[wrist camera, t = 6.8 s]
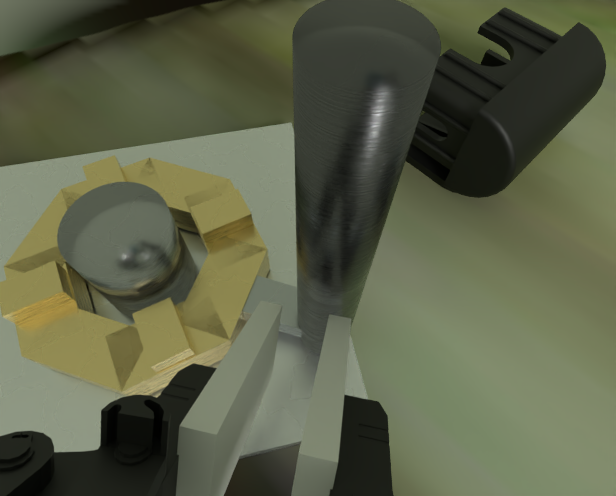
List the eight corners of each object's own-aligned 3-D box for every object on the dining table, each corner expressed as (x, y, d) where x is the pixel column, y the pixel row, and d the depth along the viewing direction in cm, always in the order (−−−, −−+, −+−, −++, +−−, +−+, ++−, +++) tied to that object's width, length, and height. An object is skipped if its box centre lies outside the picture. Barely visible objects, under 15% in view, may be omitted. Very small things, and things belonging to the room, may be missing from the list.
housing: (291, 139, 28) (289, 52, 22) (369, 427, 20) (398, 404, 14) (2, 184, 26) (-82, 101, 20) (-49, 528, 18) (-217, 551, 12)
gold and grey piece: (-15, 345, 20) (-678, 61, 6) (110, 167, 25) (-112, -200, 11) (312, 462, 17) (350, 402, 4) (374, 240, 23) (480, -104, 9)
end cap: (480, 223, 25) (536, 144, 19) (388, 157, 28) (413, 68, 22) (564, 135, 29) (633, 46, 23) (476, 83, 31) (518, -11, 25)
